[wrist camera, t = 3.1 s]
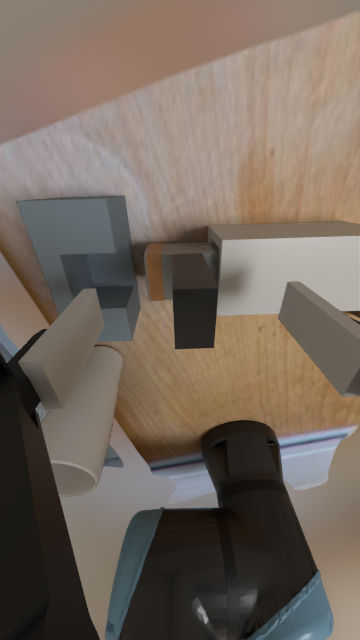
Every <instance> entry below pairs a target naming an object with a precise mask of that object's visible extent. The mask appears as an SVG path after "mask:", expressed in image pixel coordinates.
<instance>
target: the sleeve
mask: <svg viewBox="0 0 360 640" xmlns="http://www.w3.org/2000/svg"><path fill="white" fill-rule="evenodd" d="M207 242H215V244H216V245H217V246H218V247H219V249H220V250H219V264H218V278H217V286H218V300H217V313H216V316H228V315H255V314H279V313H280V309H281V305H282V301H283V297H284V293H285V289H286V286H287V282H291V281H300V282H301V283H303V284H304V285H305V286H307V287H308V288H309V289H311V290H312V291H314V292H315V293H316V294H318V295H319V296H321V297H322V298H323V299H325V300H326V301H327V302H329V303H330V304H332V305H333V306H334V307H336V308H337V309H338V310H340V311H360V224H356V223H350V222H345V221H339V222H307V223H274V224H242V225H210V226H208V240H207Z"/></svg>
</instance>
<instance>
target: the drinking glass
mask: <svg viewBox="0 0 360 640" xmlns="http://www.w3.org/2000/svg"><path fill="white" fill-rule="evenodd" d="M122 368H123V358H122V356H121V355H120V353H119V352H118V351H116V350H115V349H113V348H111V347H107V346H97V347H94V348H93V350H92V352H91V354H90V356H89V358H88V360H87V362H86V364H85V366H84V368H83V370H82V372H81V374H80V376H79V378H78V380H77V382H76V384H75V386H74V388H73V390H72V392H71V394H70V396H69V398H68V400H67V402H66V404H65V406H64V409H50V410H49V411H48V413H47V415H46V416H45V418H44V419H43V421H42V422H41V427H42V431H43V435H44V439H45V443H46V447H47V451H48V455H49V458H50V462H51V466H52V470H53V474H54V478H55V482H56V486H57V490H58V494H59V497H70V496H78V495H83V494H86V493H88V492H90V491H92V490H93V489H94V488H96V486H97V485H98V482H99V478H100V475H101V472H102V468H103V465H104V462H105V458H106V454H107V450H108V446H109V441H110V436H111V431H112V425H113V419H114V413H115V406H116V400H117V394H118V388H119V382H120V376H121V371H122Z"/></svg>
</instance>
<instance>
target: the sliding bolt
mask: <svg viewBox="0 0 360 640" xmlns="http://www.w3.org/2000/svg"><path fill="white" fill-rule="evenodd" d="M219 250H220V249H219V247H218V246H217V245H216V244H215V242H198V243H167V244H163V243H150V244H148V246H147V248H146V251H145V253H144V263H145V272H146V281H147V290H148V299H149V300H151V301H159V300H166V299H173V312H174V333H175V349H195V348H214V339H215V326H216V313H217V300H218V286H217V278H218V264H219Z"/></svg>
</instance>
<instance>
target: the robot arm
mask: <svg viewBox="0 0 360 640" xmlns="http://www.w3.org/2000/svg"><path fill="white" fill-rule="evenodd" d="M278 319H279V320H280V321H281V323H282V324H283V325H284V326H285V328H286V329H287V330H288V331H289V332H290V334H291V335H292V336H293V337H294V339H295V340H296V341H297V342H298V343H299V345H300V346H301V347H302V348H303V350H304V351H305V352H306V353H307V354H308V356H309V357H310V358H311V359H312V361H313V362H314V363H315V364H316V365H317V367H318V368H319V369H320V370H321V372H322V373H323V374H324V375H325V376H326V378H327V379H328V380H329V381H330V383H331V384H332V385H333V386H334V387H335V389H336V390H337V391H338V392H339V394H340V395H341V396H342V397H350V396H360V322H359V321H357V320H354V319H352V318H350V317H348V316H347V315H345V314H344V313H343V312H341V311H340V310H338V309H337V308H336V307H334V306H333V305H332V304H330V303H329V302H327V301H326V300H325V299H323V298H322V297H321V296H319V295H318V294H316V293H315V292H314V291H312V290H311V289H309V288H308V287H307V286H305V285H304V284H303V283H301V282H300V281H291V282H287V286H286V289H285V293H284V297H283V301H282V305H281V309H280V313H279V316H278ZM104 325H105V324H104V320H103V316H102V312H101V308H100V304H99V300H98V296H97V292H96V288H91V289H83V290H82V291H81V292H80V293H79V294H78V295H77V296H76V298H75V299H74V300H73V301H72V302H71V303H70V304H69V305H68V307H67V308H66V309H65V310H64V311H63V312H62V313H61V314H60V316H59V317H58V318H57V319H56V320H55V321H54V322H53V323H52V325H51V326H50V327H49V328H48V329H43V330H41V331H40V332H38V333H36V334H35V335H33V336H32V338H31V339H30V340H29V341H28V342H27V344H25V345H24V346H23V347H22V349H20V350H19V351H18V352H17V353H16V354H15V356H14V357H13V358H12V359H11V360H10V361H9V362H8V363H6V361H5V360H4V358H3V356H2V355H1V354H0V640H100V639H99V636H98V633H97V631H96V629H95V627H94V625H93V623H92V620H91V617H90V615H89V612H88V608H87V604H86V600H85V596H84V593H83V588H82V585H81V581H80V577H79V573H78V569H77V565H76V561H75V557H74V553H73V549H72V545H71V541H70V537H69V534H68V529H67V525H66V521H65V518H64V514H63V510H62V506H61V502H60V498H59V494H58V490H57V486H56V482H55V478H54V474H53V470H52V466H51V462H50V458H49V455H48V451H47V447H46V443H45V439H44V435H43V431H42V427H41V423H40V419H39V415H38V413H37V411H36V410H35V409H36V407H37V406H38V404H39V402H40V401H41V403H42V405H43V406H44V408H45V410H50V409H64V406H65V404H66V402H67V400H68V398H69V396H70V394H71V392H72V390H73V388H74V386H75V384H76V382H77V380H78V378H79V376H80V374H81V372H82V370H83V368H84V366H85V364H86V362H87V360H88V358H89V356H90V354H91V352H92V350H93V348H94V346H95V344H96V342H97V340H98V338H99V336H100V334H101V332H102V330H103V328H104ZM201 450H202V457H203V461H204V463H205V466H206V468H207V470H208V473H209V475H210V478H211V480H212V482H213V485H214V487H215V490H216V493H217V499H218V506H219V508H178V509H164V507H161V508H160V509H153V510H142V511H139V512H138V513H136V514H135V515H134V516H133V518H132V519H131V521H130V523H129V525H128V528H127V531H126V534H125V538H124V541H123V544H122V548H121V552H120V556H119V560H118V565H117V569H116V573H115V578H114V583H113V587H112V592H111V598H110V603H109V609H108V619H107V626H106V630H105V640H326V639H327V638H328V637H330V635H331V634H332V631H333V626H334V621H333V614H332V611H331V608H330V605H329V602H328V599H327V596H326V593H325V590H324V587H323V583H322V581H321V577H320V576H321V575H320V572H319V570H318V569H317V567H316V565H315V562H314V560H313V557H312V554H311V552H310V549H309V546H308V544H307V541H306V539H305V536H304V534H303V531H302V529H301V526H300V523H299V521H298V518H297V516H296V513H295V510H294V508H293V505H292V503H291V500H290V498H289V495H288V492H287V490H286V487H285V484H284V481H283V474H282V464H281V454H280V446H279V442H278V440H277V438H276V435H275V433H274V431H273V430H272V429H271V428H270V427H268V426H267V425H265V424H262V423H258V422H252V421H240V422H233V423H228V424H225V425H222V426H219V427H217V428H215V429H213V430H212V431H210V432H209V433H208V434H207V435H206V436H205V437H204V438H203V440H202V443H201Z"/></svg>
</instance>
